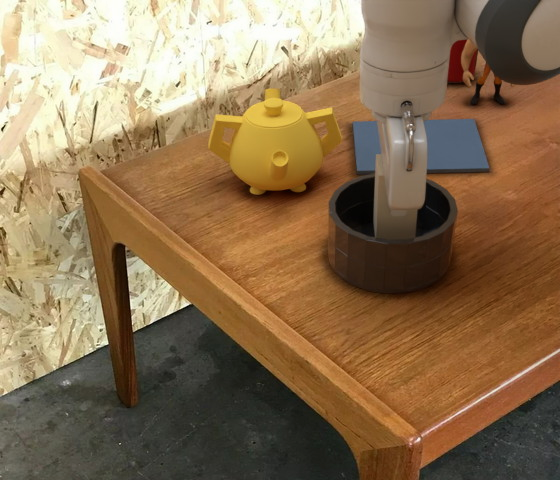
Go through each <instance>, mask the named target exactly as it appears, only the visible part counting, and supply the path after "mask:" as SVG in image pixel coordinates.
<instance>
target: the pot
mask: <svg viewBox="0 0 560 480" xmlns="http://www.w3.org/2000/svg"><path fill="white" fill-rule="evenodd" d="M374 192H375V173H374V174H363V175H359V176H357V177H355V178H353V179H349V180H348V181H345V182H344V183H342V184H341V185H340V186H339V187H337V189H335V190H334V191H333V193H332V194H331V196H330V199H329V200H328V206H327V207H328V208H327V211H328V212H327V213H328V214H327V215H328V216H327V218H328V219H327V225H328V227H327V228H328V229H327V256H328V262H329V265H330V267H331V269H332V270H333V271H334V273H335V274H336V275H337V276H338V277H339V278H341V280H342V281H344V282H345V283H348V284H350V285H351V286H354V287H356V288H358V289H360V290H364V291H368V292H373V293H377V294H378V293H379V294H391V295H395V294H407V293H412V292H415V291H419V290H422V289H425V288H427V287H429V286H432V285H433V284H435V283H436V282H438V281H439V280H440V279H441V278H442V277H443V276H444V275H445V274H446V272H447V271H448V269H449V266H450V264H451V258H452V255H453V248H454V240H455V234H456V227H457V220H458V213H459V210H458V205H457V201H456V199H455V197H454V196H453V195H452V194H451V193H450V192H449V190H448V189H447V188H445V187H444V186H442V185H440V184H439V183H437V182H436V181H434V180H432V179H429V178H426V191H425V201H424V204H423V206H422V208H420V209H418V210H417V221H416V233H415V238H411V239H396V240H386V239H380V238H375V232H374V223H373V217H374Z"/></svg>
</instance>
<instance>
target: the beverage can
mask: <svg viewBox="0 0 560 480" xmlns="http://www.w3.org/2000/svg"><path fill="white" fill-rule="evenodd" d="M467 40H468V39H466V40H458V41H456V42H455V43H454V44H453V45H452V47H451V50H450V59H449V69H448V79H447V83H450V84H459V83H464V81H463V73H464V70H463V68H462V64H461V55H462V52H463V50H464V47H465V44H466V42H467ZM478 55H479V51H478V49H477V50H476V51H475V52H474V55H473V56H472V59H471V62H470V65H469V68H468V71H469V72H470V73H471V74H472V75H473V76H474V75H475V73H476V70H477V69H476V67H477V62H478Z"/></svg>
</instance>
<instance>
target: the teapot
mask: <svg viewBox="0 0 560 480" xmlns="http://www.w3.org/2000/svg"><path fill="white" fill-rule="evenodd" d="M320 123H325V127H326V131H327V133H326V134H325V135H323V136H322V137H320V133H319V132H318V130H317V128H316V126H315V125H318V124H320ZM225 129H231V130H233V133H232V135H231V139H230V142H229V143H228V142H227V141H225V140H224V139H223V137H224V133H225ZM342 143H343V134H342V131H341V129H340V126H339V123H338V120H337V117H336V114H335V111H334V109H333V107H327V108H322V109H318V110H312V111H307V112H306V111H304V109H302V107H301V106H300V105H299V104H297V103H294V102H292V101H287V100H283V99H282V98H281V89H279V88H274V87H273V88H272V87H271V88H266V89H264V100H263V101H260V102H257V103H255V104H252V105H251V106H250V107H248V108H247V110H246V111H245V112H244V113H243V115H242V116H240V115H229V114H228V115H227V114H217V113H216V114H214V118H213V122H212V126H211V130H210V134H209V138H208V142H207V147H208V151H210V152H211V153H213V154H214V155H216V156H217V157H218V158H220V159H222V160H223V161H224V162H226V163H227V164H228V165H229V167H230V169H231V171H232V173H233V174H234V175H235V176H236V177H237V178H238V179H240V180H241V181H242V182H244V184H246V185H248V186H250V188H249V192H250V193H251V194H253V195H256V196H257V195H262V194H265V193H266V192H267V191H284V190H290V191H291V192H294V193H301V192H304V191H306V189H307V185H306V184H305V183H307V182H308V181H310V179H312V177H313V176H315V175H316V174H317V173H318V172H319V170H320V169H321V168H322V165H323V162H324V159H325V157H327V156H328V155H329V154H330V153H331V152H332V151H333V150H334V149H335V148H337V147H338V146H340V145H341V144H342Z"/></svg>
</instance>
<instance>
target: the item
mask: <svg viewBox="0 0 560 480" xmlns="http://www.w3.org/2000/svg"><path fill="white" fill-rule="evenodd" d="M417 210H418V209H416V210H407V214H406V216H404V217H393V216H391V213H390V208H389V206H388V200H387V193H386V185H385V178H384V170H383V163H382V155H381V154H376V166H375V192H374V217H373V223H374V232H375V238H380V239H386V240H396V239H411V238H415V233H416V221H417Z"/></svg>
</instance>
